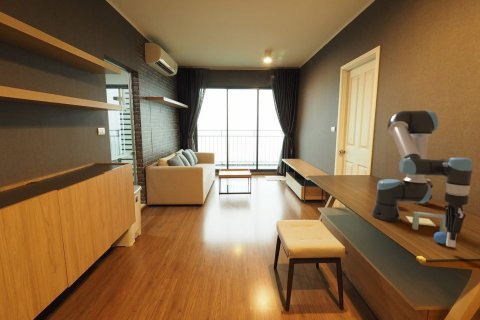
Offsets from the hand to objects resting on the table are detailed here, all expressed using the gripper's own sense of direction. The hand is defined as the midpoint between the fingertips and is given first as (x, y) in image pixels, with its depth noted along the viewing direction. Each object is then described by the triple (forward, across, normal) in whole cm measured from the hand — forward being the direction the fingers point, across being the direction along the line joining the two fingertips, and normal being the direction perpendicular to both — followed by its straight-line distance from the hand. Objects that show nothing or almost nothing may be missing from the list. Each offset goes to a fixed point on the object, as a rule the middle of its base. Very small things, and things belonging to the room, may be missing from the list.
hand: (450, 246), depth 107 cm
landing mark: (+3, +40, 0) cm, 40 cm away
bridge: (+3, +26, 0) cm, 26 cm away
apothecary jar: (+2, +83, -12) cm, 84 cm away
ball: (0, +10, 0) cm, 10 cm away
